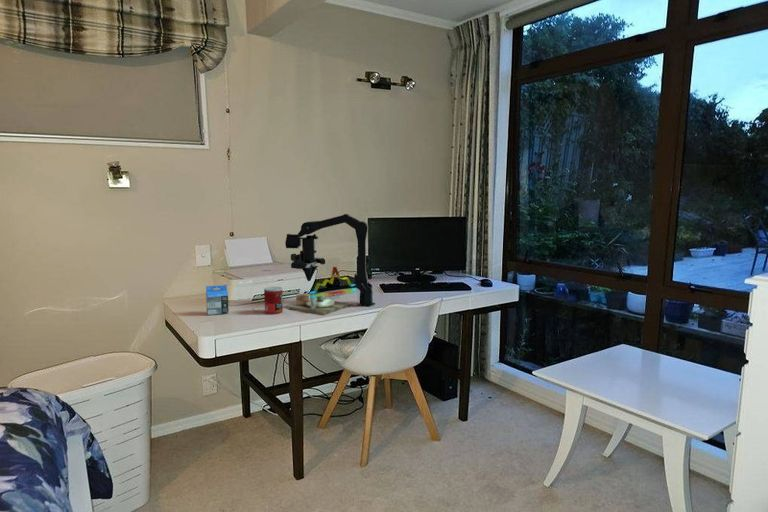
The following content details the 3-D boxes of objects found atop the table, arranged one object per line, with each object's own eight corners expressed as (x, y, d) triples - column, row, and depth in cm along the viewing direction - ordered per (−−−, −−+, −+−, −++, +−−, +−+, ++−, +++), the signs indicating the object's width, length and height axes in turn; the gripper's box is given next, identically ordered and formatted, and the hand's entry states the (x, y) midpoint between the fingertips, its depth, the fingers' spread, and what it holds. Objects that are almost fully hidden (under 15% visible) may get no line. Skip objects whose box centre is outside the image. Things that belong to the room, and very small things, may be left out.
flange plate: (336, 301, 230) (335, 292, 229) (332, 307, 217) (332, 298, 217) (299, 300, 230) (299, 291, 230) (293, 307, 218) (293, 297, 217)
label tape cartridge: (207, 315, 209) (206, 287, 207) (206, 313, 212) (205, 286, 210) (228, 313, 212) (227, 286, 210) (227, 311, 216) (226, 284, 214)
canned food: (278, 315, 210) (278, 290, 209) (261, 313, 212) (260, 289, 210) (285, 310, 218) (285, 286, 216) (269, 309, 219) (268, 286, 218)
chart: (308, 301, 238) (307, 271, 236) (304, 300, 240) (304, 270, 238) (356, 292, 258) (356, 265, 256) (352, 291, 260) (352, 264, 258)
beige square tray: (317, 300, 238) (317, 288, 237) (350, 305, 227) (350, 293, 226) (289, 309, 221) (289, 296, 220) (323, 315, 210) (323, 301, 210)
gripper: (308, 245, 239) (308, 276, 241) (281, 249, 223) (282, 282, 225) (325, 246, 233) (326, 278, 235) (300, 251, 217) (300, 285, 219)
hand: (308, 281), depth 229 cm, fingers closed
